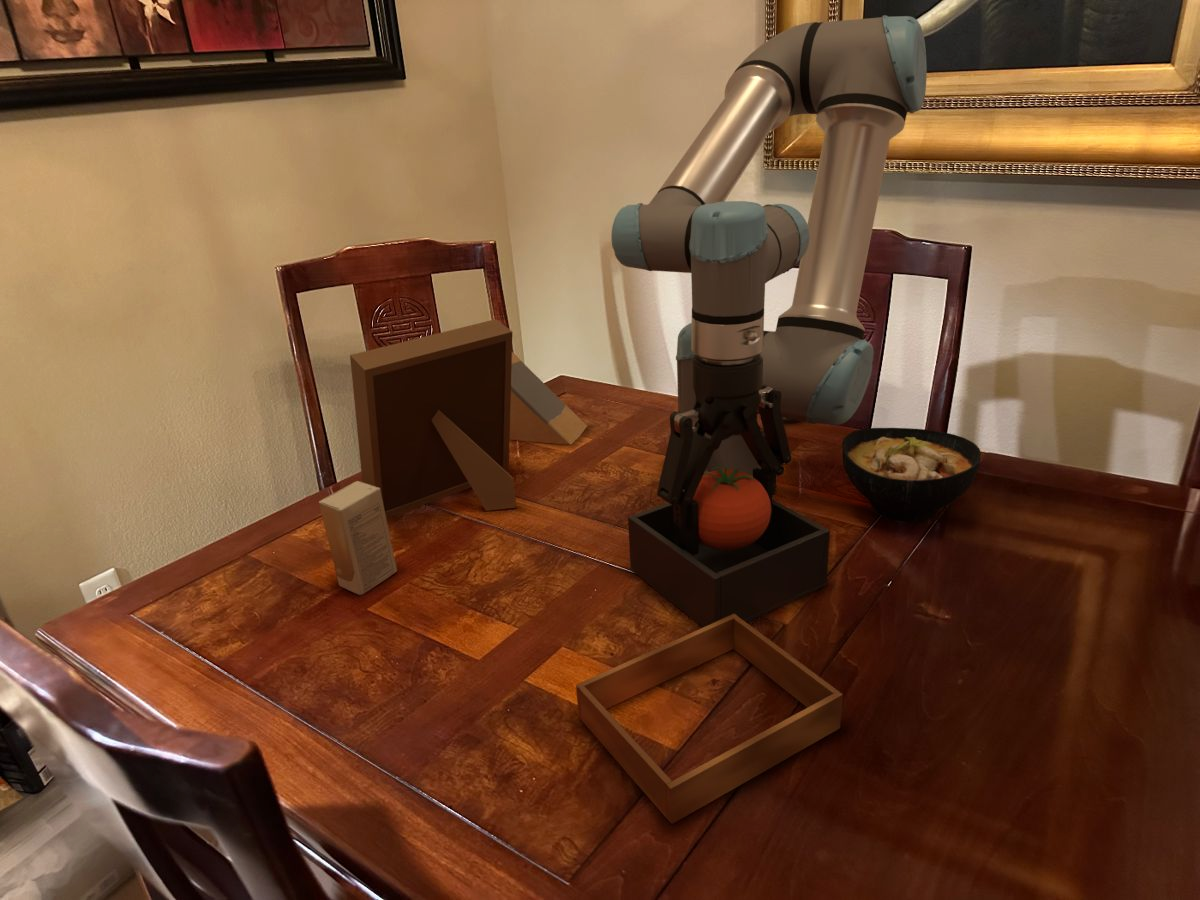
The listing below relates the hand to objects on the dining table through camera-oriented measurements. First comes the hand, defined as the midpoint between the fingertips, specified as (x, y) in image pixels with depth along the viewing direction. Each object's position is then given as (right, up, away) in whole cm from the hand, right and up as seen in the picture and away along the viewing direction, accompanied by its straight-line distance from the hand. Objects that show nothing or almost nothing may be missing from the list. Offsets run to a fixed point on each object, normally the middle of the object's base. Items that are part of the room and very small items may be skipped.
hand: (725, 534), depth 99 cm
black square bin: (0, -5, +2) cm, 6 cm away
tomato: (0, -1, +1) cm, 1 cm away
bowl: (+26, +2, +15) cm, 31 cm away
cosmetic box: (-44, -6, +7) cm, 45 cm away
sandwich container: (-25, +13, +46) cm, 54 cm away
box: (-5, -16, -19) cm, 25 cm away
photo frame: (-36, +2, +24) cm, 43 cm away
